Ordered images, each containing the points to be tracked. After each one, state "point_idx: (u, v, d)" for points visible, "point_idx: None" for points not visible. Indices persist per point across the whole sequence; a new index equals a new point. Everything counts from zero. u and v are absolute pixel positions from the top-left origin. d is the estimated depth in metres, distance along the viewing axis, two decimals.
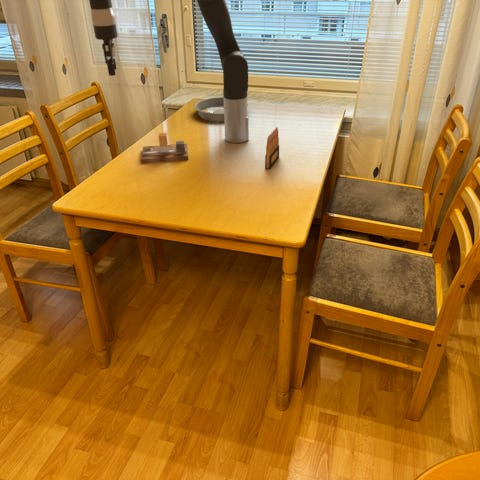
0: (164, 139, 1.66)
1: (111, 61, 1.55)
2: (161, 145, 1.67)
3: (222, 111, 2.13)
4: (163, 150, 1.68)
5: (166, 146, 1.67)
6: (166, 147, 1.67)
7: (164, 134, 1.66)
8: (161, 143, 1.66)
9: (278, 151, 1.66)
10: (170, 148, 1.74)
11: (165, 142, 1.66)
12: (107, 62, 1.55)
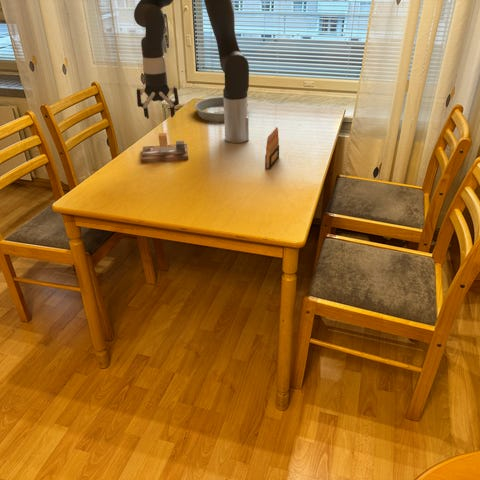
0: (164, 139, 1.66)
1: None
2: (161, 145, 1.67)
3: (222, 111, 2.13)
4: (163, 150, 1.68)
5: (166, 146, 1.67)
6: (166, 147, 1.67)
7: (164, 134, 1.66)
8: (161, 143, 1.66)
9: (278, 151, 1.66)
10: (170, 148, 1.74)
11: (165, 142, 1.66)
12: (178, 103, 1.60)
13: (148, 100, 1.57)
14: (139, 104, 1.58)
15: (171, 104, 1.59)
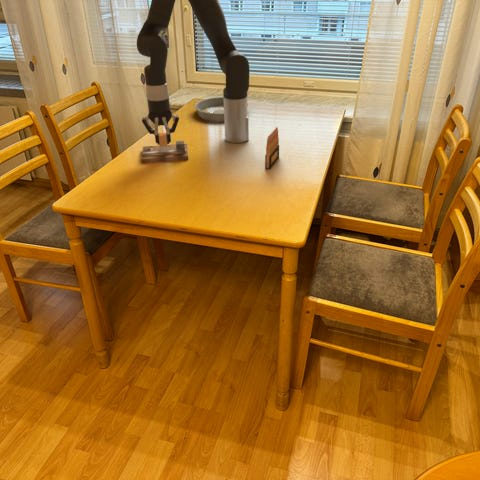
0: (164, 139, 1.66)
1: None
2: (161, 145, 1.67)
3: (222, 111, 2.13)
4: (163, 150, 1.68)
5: (166, 146, 1.67)
6: (166, 147, 1.67)
7: (164, 134, 1.66)
8: (161, 143, 1.66)
9: (278, 151, 1.66)
10: (170, 148, 1.74)
11: (165, 142, 1.66)
12: (174, 130, 1.65)
13: (155, 126, 1.62)
14: (150, 131, 1.64)
15: (168, 131, 1.64)
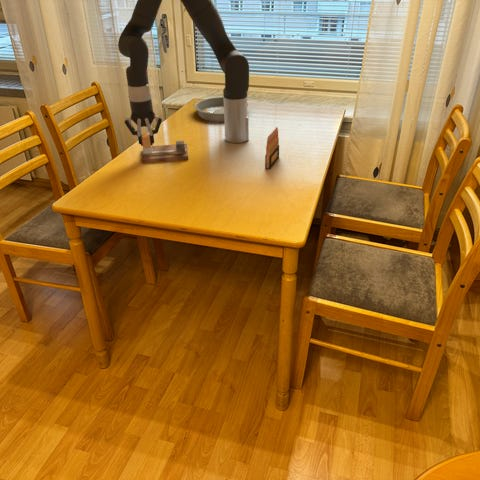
0: (147, 140, 1.65)
1: None
2: (144, 146, 1.66)
3: (222, 111, 2.13)
4: (146, 151, 1.67)
5: (149, 147, 1.67)
6: (149, 148, 1.67)
7: (147, 135, 1.65)
8: (144, 144, 1.66)
9: (278, 151, 1.66)
10: (170, 148, 1.74)
11: (148, 143, 1.66)
12: (157, 131, 1.64)
13: (138, 128, 1.62)
14: (133, 132, 1.63)
15: (151, 133, 1.64)
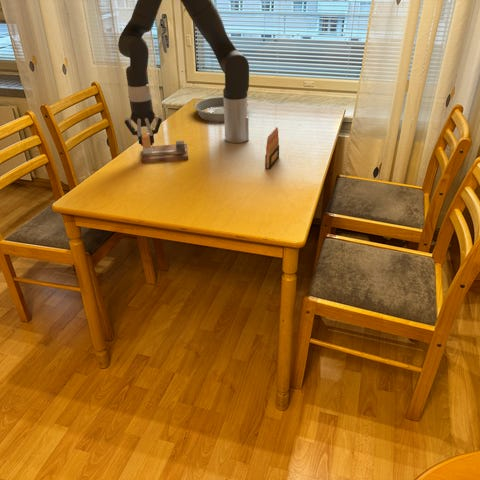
0: (147, 140, 1.65)
1: None
2: (144, 146, 1.66)
3: (222, 111, 2.13)
4: (146, 151, 1.67)
5: (149, 147, 1.67)
6: (149, 148, 1.67)
7: (147, 135, 1.65)
8: (144, 144, 1.66)
9: (278, 151, 1.66)
10: (170, 148, 1.74)
11: (148, 143, 1.66)
12: (157, 131, 1.64)
13: (138, 128, 1.62)
14: (133, 132, 1.63)
15: (151, 133, 1.64)
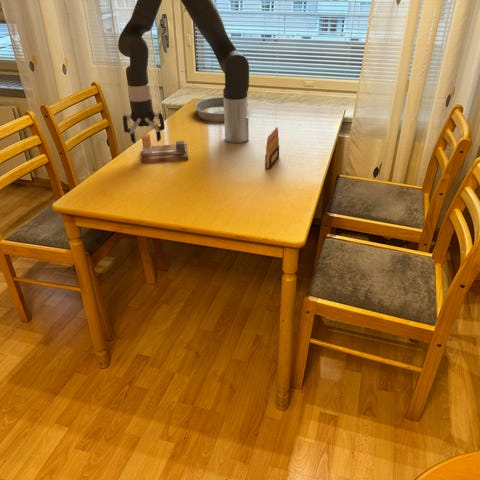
0: (147, 140, 1.65)
1: (164, 125, 1.65)
2: (144, 146, 1.66)
3: (222, 111, 2.13)
4: (146, 151, 1.67)
5: (149, 147, 1.67)
6: (149, 148, 1.67)
7: (147, 135, 1.65)
8: (144, 144, 1.66)
9: (278, 151, 1.66)
10: (170, 148, 1.74)
11: (148, 143, 1.66)
12: None
13: (134, 126, 1.61)
14: (126, 130, 1.62)
15: (157, 129, 1.63)
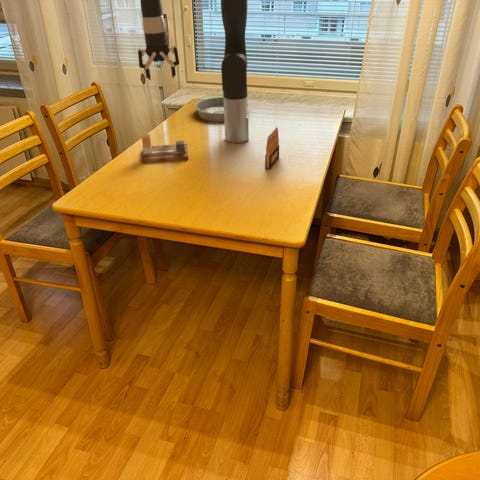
0: (147, 140, 1.65)
1: None
2: (144, 146, 1.66)
3: (222, 111, 2.13)
4: (146, 151, 1.67)
5: (149, 147, 1.67)
6: (149, 148, 1.67)
7: (147, 135, 1.65)
8: (144, 144, 1.66)
9: (278, 151, 1.66)
10: (170, 148, 1.74)
11: (148, 143, 1.66)
12: None
13: (149, 61, 1.62)
14: (141, 65, 1.63)
15: (172, 64, 1.64)
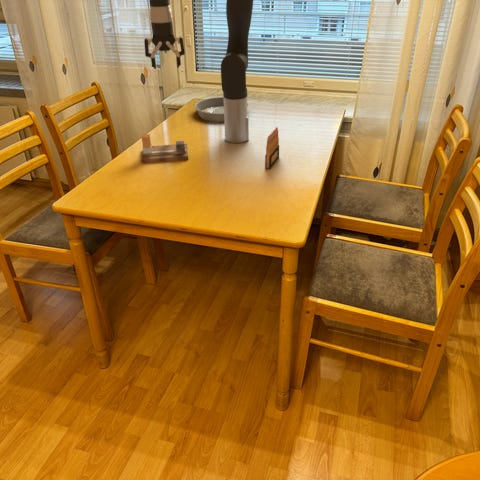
0: (147, 140, 1.65)
1: None
2: (144, 146, 1.66)
3: (222, 111, 2.13)
4: (146, 151, 1.67)
5: (149, 147, 1.67)
6: (149, 148, 1.67)
7: (147, 135, 1.65)
8: (144, 144, 1.66)
9: (278, 151, 1.66)
10: (170, 148, 1.74)
11: (148, 143, 1.66)
12: (184, 53, 1.67)
13: (155, 50, 1.64)
14: (147, 54, 1.65)
15: (177, 54, 1.67)
